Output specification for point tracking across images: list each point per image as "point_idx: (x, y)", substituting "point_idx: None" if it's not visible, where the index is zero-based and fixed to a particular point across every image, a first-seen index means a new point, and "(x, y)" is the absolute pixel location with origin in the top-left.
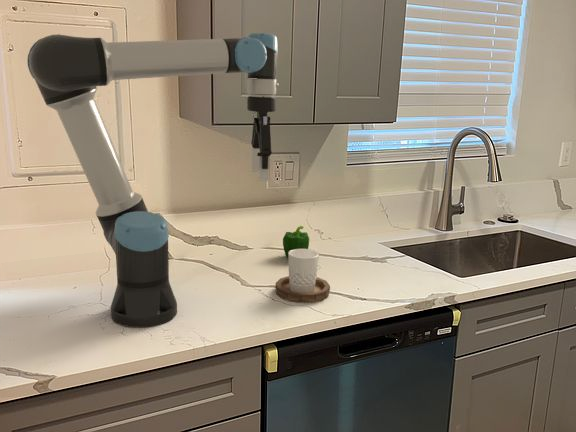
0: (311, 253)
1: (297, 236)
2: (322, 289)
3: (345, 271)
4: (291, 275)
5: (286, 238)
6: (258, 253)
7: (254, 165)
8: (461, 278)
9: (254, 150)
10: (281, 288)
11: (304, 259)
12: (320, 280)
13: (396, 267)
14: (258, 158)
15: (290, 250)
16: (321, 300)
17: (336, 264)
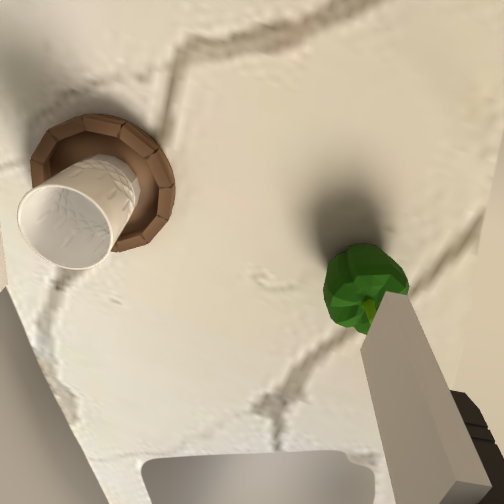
0: (98, 256)
1: (341, 298)
2: None
3: (222, 324)
4: (72, 166)
5: (363, 268)
6: (444, 182)
7: (392, 340)
8: (138, 463)
9: (437, 471)
10: (78, 126)
11: (19, 212)
12: (124, 241)
13: (218, 412)
14: (394, 418)
15: (347, 258)
16: None
17: (273, 327)
